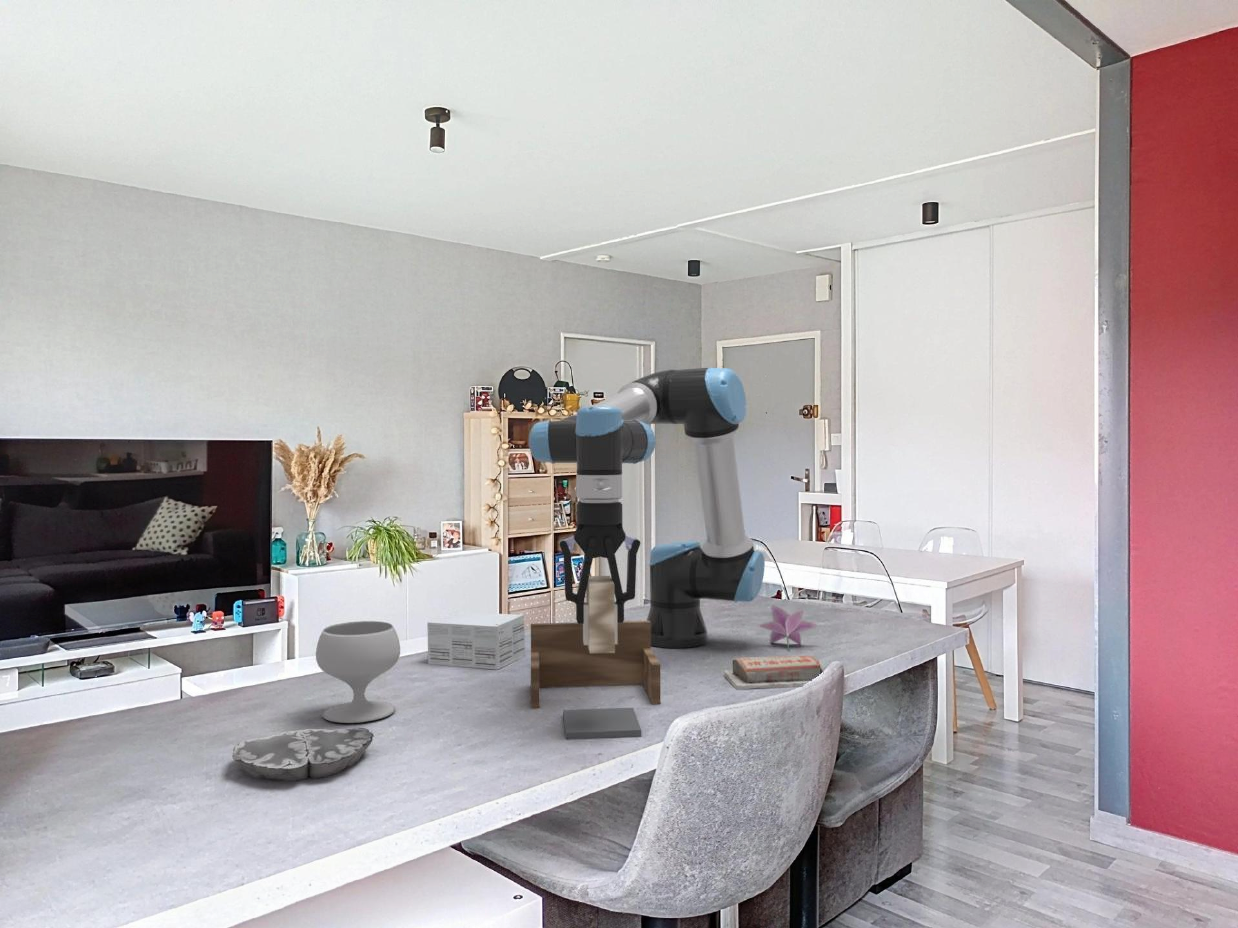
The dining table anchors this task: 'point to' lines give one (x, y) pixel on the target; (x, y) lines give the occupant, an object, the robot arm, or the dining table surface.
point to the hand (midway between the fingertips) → (600, 642)
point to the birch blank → (601, 614)
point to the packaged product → (772, 672)
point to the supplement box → (476, 640)
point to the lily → (787, 625)
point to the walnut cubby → (592, 659)
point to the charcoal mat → (601, 723)
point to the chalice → (358, 665)
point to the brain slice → (302, 753)
